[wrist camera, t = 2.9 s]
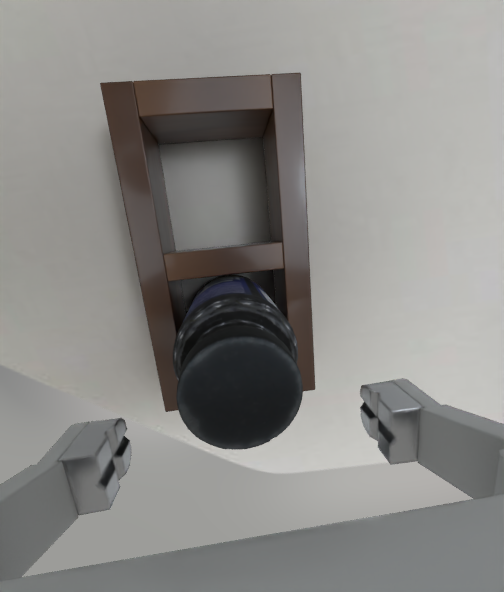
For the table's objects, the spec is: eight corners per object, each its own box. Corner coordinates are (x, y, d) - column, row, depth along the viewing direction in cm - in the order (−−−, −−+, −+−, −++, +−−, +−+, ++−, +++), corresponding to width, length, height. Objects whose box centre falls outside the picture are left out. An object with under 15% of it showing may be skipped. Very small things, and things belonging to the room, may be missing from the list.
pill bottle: (183, 338, 20) (134, 451, 9) (203, 263, 19) (176, 294, 8) (257, 356, 21) (291, 478, 10) (281, 286, 20) (346, 341, 9)
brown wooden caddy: (176, 379, 21) (165, 412, 17) (129, 119, 16) (99, 81, 13) (299, 362, 22) (315, 390, 18) (284, 109, 17) (301, 71, 13)
